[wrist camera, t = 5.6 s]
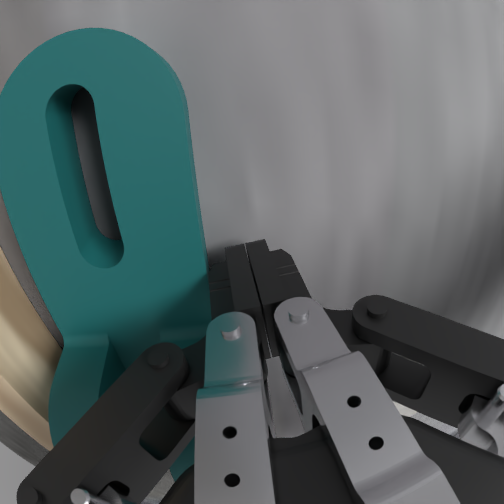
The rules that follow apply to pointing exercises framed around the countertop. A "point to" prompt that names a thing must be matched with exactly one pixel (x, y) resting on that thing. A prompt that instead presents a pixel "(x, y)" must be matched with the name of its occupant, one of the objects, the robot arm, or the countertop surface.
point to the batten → (25, 359)
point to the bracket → (125, 205)
